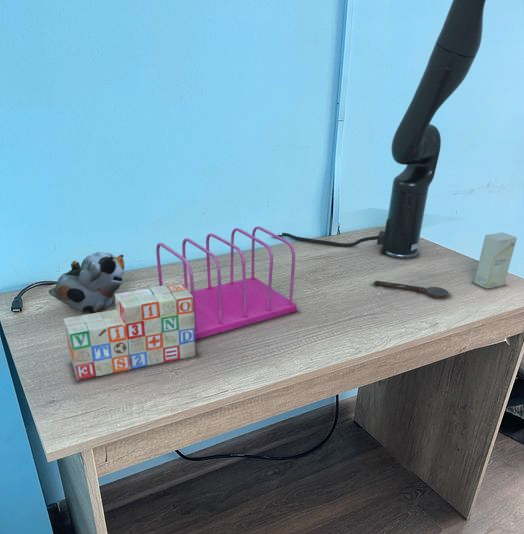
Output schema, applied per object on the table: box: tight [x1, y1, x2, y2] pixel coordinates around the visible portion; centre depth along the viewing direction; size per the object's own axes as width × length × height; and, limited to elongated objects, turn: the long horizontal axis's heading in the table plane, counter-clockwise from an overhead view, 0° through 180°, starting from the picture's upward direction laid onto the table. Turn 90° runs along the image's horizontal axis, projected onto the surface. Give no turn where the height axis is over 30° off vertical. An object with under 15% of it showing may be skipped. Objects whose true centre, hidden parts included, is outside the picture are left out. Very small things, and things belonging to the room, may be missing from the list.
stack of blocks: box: [63, 283, 197, 381], centre depth 93 cm, size 21×6×12 cm, turn 115°
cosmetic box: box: [473, 232, 518, 290], centre depth 127 cm, size 6×4×12 cm
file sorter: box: [155, 226, 297, 340], centre depth 111 cm, size 17×25×16 cm
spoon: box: [373, 280, 449, 300], centre depth 125 cm, size 17×5×1 cm, turn 72°
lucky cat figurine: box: [48, 251, 125, 314], centre depth 113 cm, size 15×12×14 cm
